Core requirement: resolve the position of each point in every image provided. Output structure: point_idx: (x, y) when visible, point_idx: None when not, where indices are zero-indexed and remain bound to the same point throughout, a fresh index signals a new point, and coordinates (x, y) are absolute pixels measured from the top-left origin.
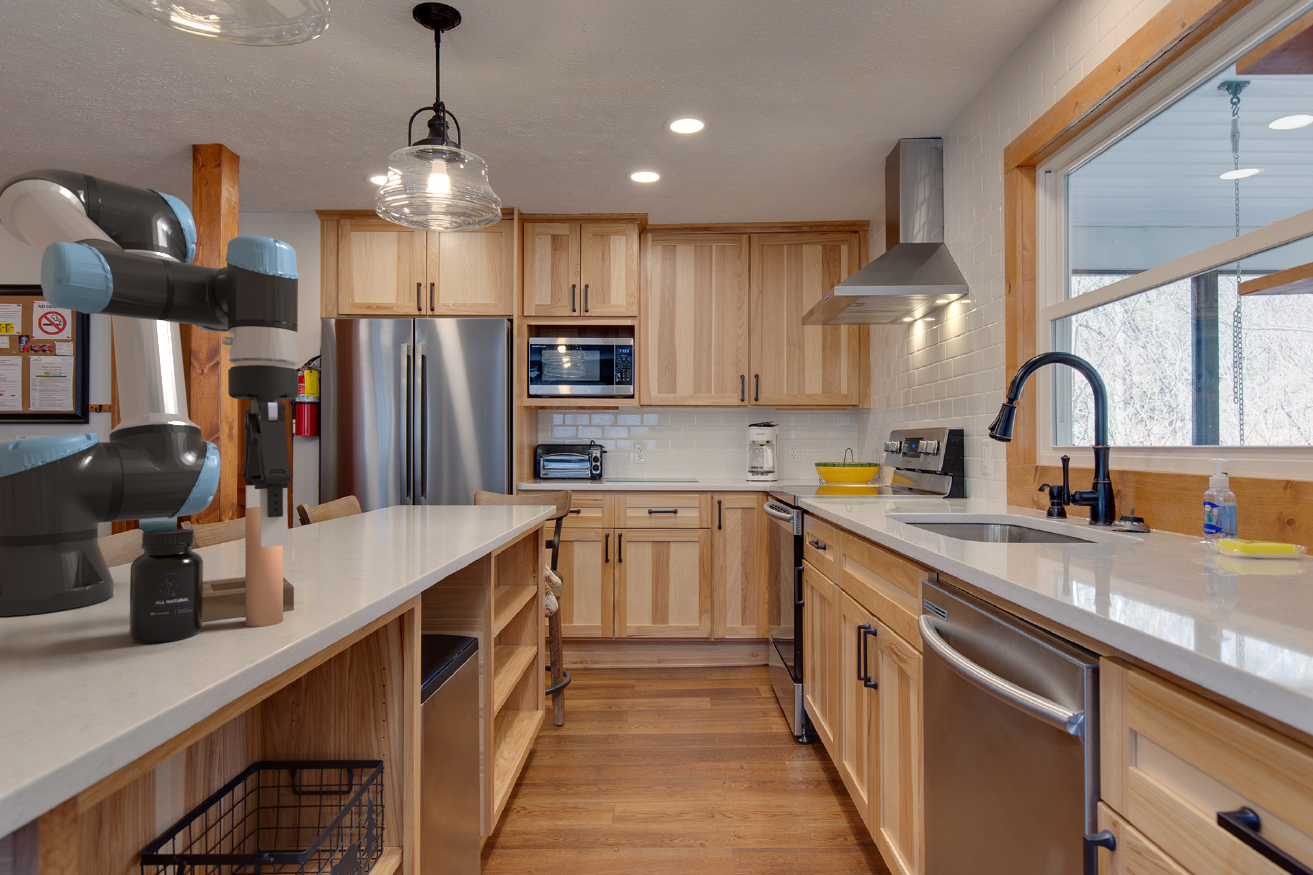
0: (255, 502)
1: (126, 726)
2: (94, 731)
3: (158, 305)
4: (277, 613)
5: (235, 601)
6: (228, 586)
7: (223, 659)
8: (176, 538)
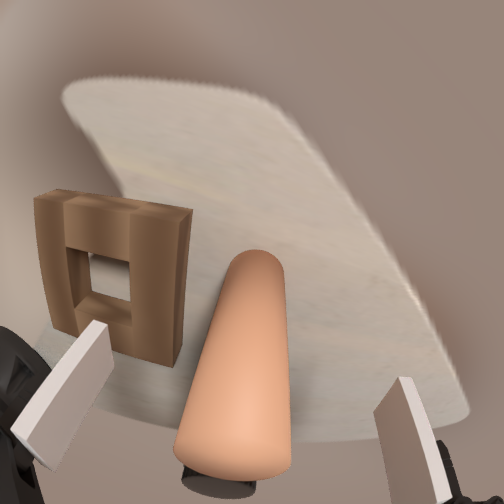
0: (69, 421)
1: (460, 398)
2: (451, 408)
3: None
4: (281, 272)
5: (177, 306)
6: (74, 283)
7: (396, 352)
8: (255, 482)
